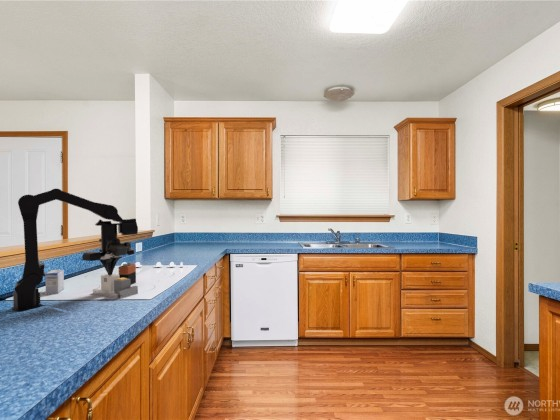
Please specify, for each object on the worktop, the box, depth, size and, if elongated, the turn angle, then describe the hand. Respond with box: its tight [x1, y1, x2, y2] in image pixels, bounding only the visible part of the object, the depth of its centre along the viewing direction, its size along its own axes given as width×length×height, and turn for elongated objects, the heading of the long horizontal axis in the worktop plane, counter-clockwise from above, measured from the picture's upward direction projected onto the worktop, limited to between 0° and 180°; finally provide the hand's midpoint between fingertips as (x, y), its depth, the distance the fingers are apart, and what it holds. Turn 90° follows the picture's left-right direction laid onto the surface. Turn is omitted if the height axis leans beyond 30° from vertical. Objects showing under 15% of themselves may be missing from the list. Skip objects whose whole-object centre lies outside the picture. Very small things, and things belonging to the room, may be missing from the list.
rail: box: [92, 285, 139, 300], centre depth 124 cm, size 8×17×4 cm, turn 62°
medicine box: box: [44, 269, 65, 295], centre depth 131 cm, size 8×4×9 cm, turn 21°
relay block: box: [114, 278, 132, 293], centre depth 122 cm, size 4×4×6 cm
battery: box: [118, 262, 137, 286], centre depth 139 cm, size 4×7×10 cm, turn 175°
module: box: [100, 273, 120, 293], centre depth 126 cm, size 4×6×7 cm
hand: (110, 274), depth 126 cm, fingers closed
